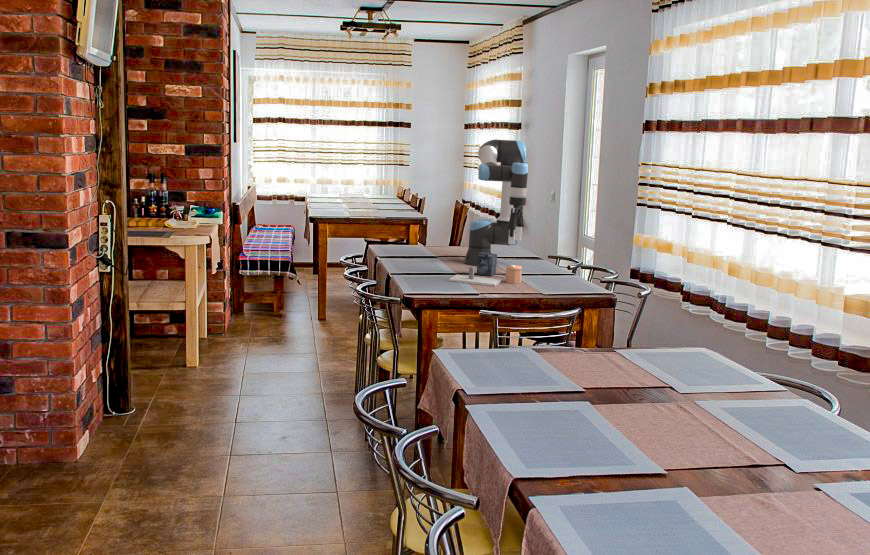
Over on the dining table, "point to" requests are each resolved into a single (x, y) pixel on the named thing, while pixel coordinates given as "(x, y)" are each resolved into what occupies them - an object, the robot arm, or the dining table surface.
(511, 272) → the peach block
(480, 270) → the box
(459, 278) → the white board with peg
